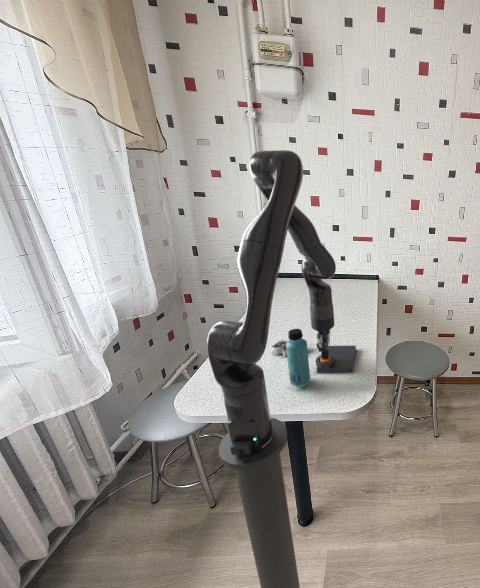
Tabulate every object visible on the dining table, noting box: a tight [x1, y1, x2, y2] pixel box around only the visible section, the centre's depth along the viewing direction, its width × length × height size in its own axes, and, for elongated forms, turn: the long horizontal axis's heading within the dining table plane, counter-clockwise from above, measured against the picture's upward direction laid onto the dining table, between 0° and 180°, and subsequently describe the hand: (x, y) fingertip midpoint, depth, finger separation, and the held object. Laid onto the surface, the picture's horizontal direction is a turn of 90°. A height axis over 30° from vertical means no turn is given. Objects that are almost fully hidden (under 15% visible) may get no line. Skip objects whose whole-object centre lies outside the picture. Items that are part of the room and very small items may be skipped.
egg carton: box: [271, 339, 289, 358], centre depth 125 cm, size 11×8×4 cm
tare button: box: [320, 357, 331, 363], centre depth 116 cm, size 4×4×2 cm
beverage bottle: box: [286, 328, 311, 387], centre depth 104 cm, size 6×7×20 cm
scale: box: [315, 345, 357, 374], centre depth 121 cm, size 15×13×4 cm
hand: (325, 358), depth 116 cm, fingers closed
